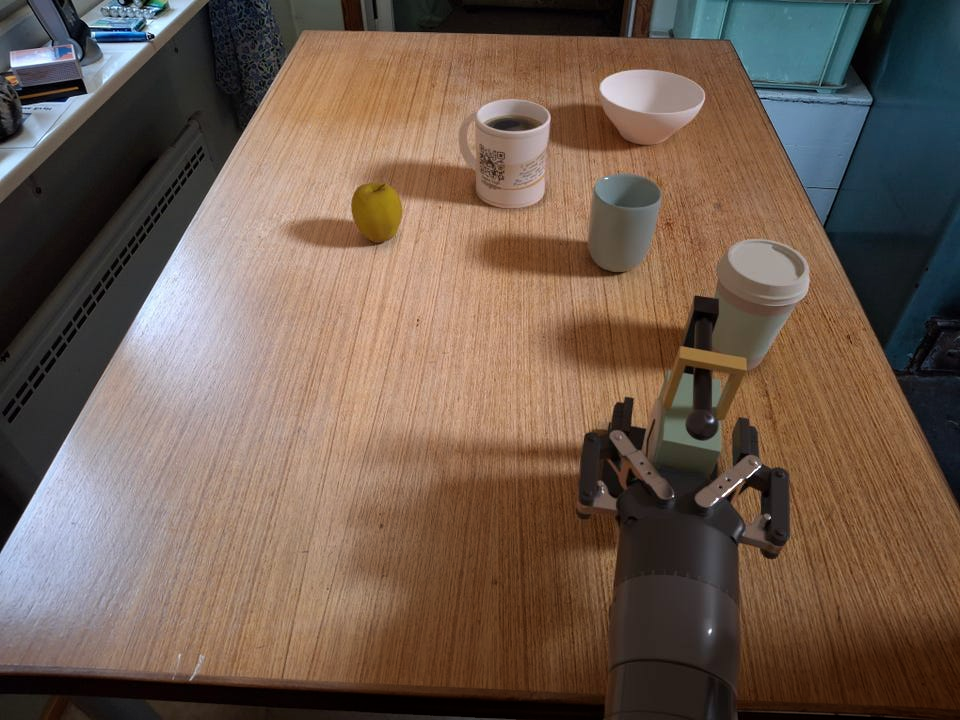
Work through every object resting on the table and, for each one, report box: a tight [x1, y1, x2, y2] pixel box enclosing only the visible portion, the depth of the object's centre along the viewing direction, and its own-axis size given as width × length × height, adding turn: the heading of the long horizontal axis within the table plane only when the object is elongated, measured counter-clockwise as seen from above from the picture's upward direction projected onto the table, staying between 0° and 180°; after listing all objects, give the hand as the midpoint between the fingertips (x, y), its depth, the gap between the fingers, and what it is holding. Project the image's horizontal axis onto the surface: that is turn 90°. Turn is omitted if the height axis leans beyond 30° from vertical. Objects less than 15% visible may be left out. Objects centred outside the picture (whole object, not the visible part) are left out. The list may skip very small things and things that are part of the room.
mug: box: [457, 98, 552, 209], centre depth 92 cm, size 10×12×11 cm
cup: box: [587, 173, 663, 273], centre depth 80 cm, size 8×8×10 cm
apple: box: [350, 182, 403, 244], centre depth 84 cm, size 6×6×8 cm
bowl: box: [598, 69, 706, 146], centre depth 105 cm, size 16×16×7 cm
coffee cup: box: [712, 238, 811, 371], centre depth 68 cm, size 8×8×12 cm
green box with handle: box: [642, 345, 748, 479], centre depth 50 cm, size 5×7×15 cm, turn 166°
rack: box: [599, 294, 719, 499], centre depth 52 cm, size 10×14×18 cm
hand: (682, 414), depth 52 cm, fingers open, 8 cm apart
